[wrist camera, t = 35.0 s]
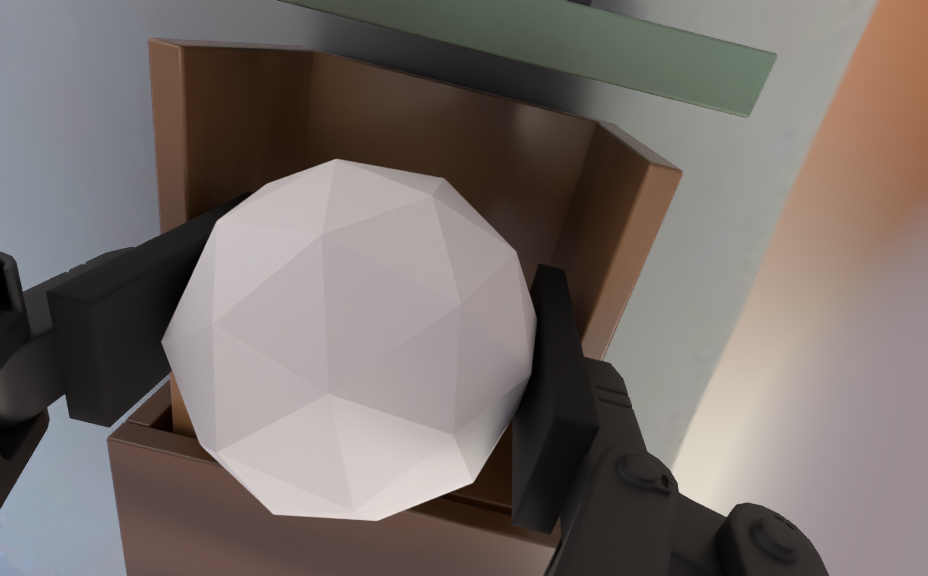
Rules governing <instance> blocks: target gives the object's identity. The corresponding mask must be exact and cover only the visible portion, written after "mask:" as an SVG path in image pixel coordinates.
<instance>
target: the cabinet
mask: <svg viewBox="0 0 928 576" xmlns="http://www.w3.org/2000/svg"><path fill="white" fill-rule="evenodd" d="M107 446H108V452H109V459H110V466H111V472H112V479H113V486H114V493H115V499H116V506H117V513H118V519H119V526H120V533H121V540H122V546H123V553H124V560H125V567H126V573H127V576H543V574H544V572H545V570H546V568H547V566H548V564H549V562H550V560H551V558H552V556H553V553H554V551H555V549H556V547H557V545H558V543H559V541H560V539H561V537H562V534H561V523H560V515H559V517H558V519H557V522H556V524H555V526H554V528H553V530H552V533H551V535H550V534H546V533H542V532H538V531H533V530H529V529H525V528H521V527H517V526H513V525H512V515H508V514H504V513H500V512H496V511H492V510H488V509H483V508H479V507H475V506H471V505H467V504H463V503H459V502H455V501H451V500H446V499H442V498H438V497H436V498H434V499H431V500H429V501H426V502H423V503H421V504H418V505H416V506H413V507H411V508H408V509H406V510H403V511H401V512H398V513H396V514H393V515H391V516H388V517H386V518H383V519H381V520H378V521H370V520H354V519H338V518H321V517H305V516H289V515H273V514H272V513H271V512H270V511H269V510H268V509H267V508H266V507H265V506H264V505H263V504H262V503H261V502H260V501H259V500H258V499H257V498H256V497H255V496H254V495H252V494H251V493H250V492H249V491H248V490H247V489H246V488H245V487H244V486H243V485H242V484H241V483H240V482H239V481H238V480H237V479H236V478H235V477H234V476H233V475H231V474H230V473H229V472H228V471H227V470H226V469H225V468H224V467H223V466H222V465H221V464H220V463H219V462H218V461H217V460H216V459H215V458H214V457H213V456H212V455H210V454H209V453H208V452H207V451H206V450H205V449H204V448H203V447H202V446H201V445H200V443H199V440H198V439H195V438H191V437H187V436H183V435H179V434H175V433H173V417H172V402H171V386H170V379H169V380H168V381H167V382H166V383H165V384H164V385H163V386H162V387H161V388H160V389H159V390H157V391H156V392H155V393H154V394H153V395H152V396H151V397H150V398H149V399H148V400H147V401H146V402H144V403H143V404H142V405H141V406H140V407H139V408H138V409H137V410H136V411H135V412H134V413H133V414H131V415H130V416H129V417H128V418H127V419H126V422H124V423H122V424H121V425H120V426H119V427H118V428H117V429H116V430H115V431H114V432H113V433H112V434H111V435H110V436H108V438H107Z"/></svg>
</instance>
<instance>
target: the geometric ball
mask: <svg viewBox="0 0 928 576" xmlns="http://www.w3.org/2000/svg"><path fill="white" fill-rule="evenodd" d="M536 327H537V317H536V314H535V310H534V307H533V304H532V301H531V297H530V294H529V291H528V288H527V285H526V281H525V278H524V275H523V272H522V269H521V265H520V262H519V259H518V256H517V252H516V251H515V250H514V249H513V248H512V247H511V246H510V245H509V244H508V243H507V242H506V241H505V240H504V239H503V238H502V237H501V236H500V235H499V234H498V233H497V232H496V230H495V229H494V228H493V227H492V226H491V225H490V224H489V223H488V222H487V221H486V220H485V219H484V218H483V217H482V216H481V215H480V214H479V213H478V212H477V211H476V210H475V209H474V208H473V207H472V206H471V205H470V204H469V203H468V202H467V201H466V200H465V199H464V198H463V197H462V196H461V195H460V194H459V193H458V192H457V191H456V190H455V189H454V188H453V187H452V186H451V185H450V184H449V183H448V182H447V181H446V180H445V179H444V178H440V177H434V176H429V175H423V174H418V173H412V172H407V171H401V170H396V169H390V168H385V167H379V166H374V165H368V164H363V163H357V162H351V161H346V160H340V159H335V160H332V161H329V162H326V163H323V164H321V165H318V166H315V167H312V168H309V169H307V170H304V171H301V172H298V173H295V174H293V175H290V176H287V177H284V178H281V179H279V180H276V181H273V182H270V183H267V184H266V185H264V186H263V187H262V188H260V189H259V190H258V191H256V192H255V193H254V194H252V195H251V196H250V197H248V198H247V199H246V200H244V201H243V202H242V203H240V204H239V205H238V206H236V207H235V208H234V209H232V210H231V211H229V212H228V213H227V214H225V215H224V216H223V217H221V218H220V219H219V220H217V222H216V224H215V226H214V228H213V230H212V232H211V235H210V237H209V239H208V241H207V243H206V245H205V248H204V250H203V252H202V254H201V256H200V259H199V261H198V263H197V265H196V267H195V269H194V272H193V274H192V276H191V278H190V280H189V282H188V285H187V287H186V289H185V291H184V293H183V295H182V298H181V300H180V302H179V304H178V306H177V308H176V311H175V313H174V315H173V317H172V319H171V321H170V324H169V326H168V328H167V330H166V332H165V335H164V337H163V339H162V341H161V343H162V345H163V348H164V351H165V353H166V356H167V358H168V361H169V364H170V366H171V369H172V372H173V374H174V377H175V380H176V382H177V385H178V387H179V390H180V393H181V395H182V398H183V401H184V403H185V406H186V409H187V411H188V414H189V416H190V419H191V422H192V424H193V427H194V430H195V432H196V435H197V438H198V440H199V443H200V445H201V446H202V447H203V448H204V449H205V450H206V451H207V452H208V453H209V454H210V455H212V456H213V457H214V458H215V459H216V460H217V461H218V462H219V463H220V464H221V465H222V466H223V467H224V468H225V469H226V470H227V471H228V472H229V473H230V474H231V475H233V476H234V477H235V478H236V479H237V480H238V481H239V482H240V483H241V484H242V485H243V486H244V487H245V488H246V489H247V490H248V491H249V492H250V493H251V494H252V495H254V496H255V497H256V498H257V499H258V500H259V501H260V502H261V503H262V504H263V505H264V506H265V507H266V508H267V509H268V510H269V511H270V512H271V513H272V514H273V515H289V516H305V517H321V518H338V519H354V520H370V521H378V520H381V519H383V518H386V517H388V516H391V515H393V514H396V513H398V512H401V511H403V510H406V509H408V508H411V507H413V506H416V505H418V504H421V503H423V502H426V501H429V500H431V499H434V498H436V497H439V496H441V495H444V494H446V493H449V492H451V491H454V490H456V489H459V488H461V487H464V486H466V485H469V484H471V483H473V482H474V481H475V479H476V477H477V476H478V474H479V472H480V471H481V469H482V467H483V466H484V464H485V462H486V461H487V459H488V457H489V456H490V454H491V452H492V451H493V449H494V447H495V446H496V444H497V442H498V441H499V439H500V437H501V436H502V434H503V432H504V431H505V429H506V427H507V426H508V424H509V422H510V421H511V419H512V418H513V416H514V414H515V413H516V411H517V409H518V407H519V404H520V402H521V399H522V397H523V394H524V391H525V389H526V386H527V384H528V381H529V378H530V376H531V371H532V362H533V353H534V345H535V336H536Z"/></svg>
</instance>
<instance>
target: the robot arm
mask: <svg viewBox="0 0 928 576" xmlns="http://www.w3.org/2000/svg"><path fill="white" fill-rule="evenodd" d="M252 194H254V193H252V192H246V193H244V194H242V195H240V196H238V197H236V198H234V199H232V200H230V201H228V202H226V203H224V204H222V205H220V206H218V207H216V208H214V209H212V210H210V211H208V212H206V213H204V214H202V215H200V216H198V217H196V218H194V219H192V220H190V221H188V222H186V223H184V224H182V225H180V226H178V227H176V228H174V229H172V230H170V231H168V232H166V233H164V234H161V235H159V236H157V237H155V238H153V239H151V240H149V241H147V242H145V243H143V244H141V245H139V246H137V247H135V248H134V247H129V248H124V249H120V250H116V251H111V252H107V253H104V254H102V255H100V256H98V257H96V258H94V259H91V260H89V261H87V262H86V264H85V265H83V264H81V265H79V266H77V267H75V268H72V269H70V270H69V272H68V273H67V272H64V273H62V274H60V275H58V276H55V277H53V278H51V279H49V280H47V281H45V282H43V283H41V284H39V285H36V286H34V287H32V288H30V289H28V290H26V291H24V292H23V291H22V286H21V282H20V277H19V272H18V268H17V263H16V261H15V260H14V258H13V257H12V256H10V255H8V254H5V253H3V252H0V509H1V507H2V505H3V503H4V502H5V500H6V498H7V497H8V495H9V493H10V491H11V490H12V488H13V486H14V485H15V483H16V481H17V480H18V478H19V476H20V474H21V473H22V471H23V469H24V468H25V466H26V464H27V463H28V461H29V459H30V457H31V456H32V454H33V452H34V451H35V449H36V447H37V446H38V444H39V442H40V440H41V439H42V437H43V435H44V434H45V432H46V430H47V428H48V424H49V420H50V418H49V414H48V409H47V407H48V406H49V405H51V404H52V403H53V402H55V401H56V400H57V399H59V398H60V397H61V396H63V395H64V394H65V395H66V401H67V406H68V411H69V417H70V418H72V419H76V420H80V421H84V422H88V423H92V424H96V425H100V426H105V427H111V426H112V425H113V424H114V423H115V422H116V421H117V420H118V419H119V418H120V417H122V416H123V415H124V414H125V413H126V412H127V411H128V410H129V409H130V408H132V407H133V406H134V405H135V404H136V403H137V402H138V401H139V400H140V399H141V398H143V397H144V396H145V395H146V394H147V393H148V392H149V391H150V390H151V389H152V388H154V387H155V386H156V385H157V384H158V383H159V382H160V381H161V380H162V379H164V378H165V377H166V376H167V375H168V374H169V373H170V372H171V371H172V369H171V366H170V364H169V361H168V358H167V356H166V353H165V351H164V348H163V345H162V343H161V341H162V339H163V337H164V335H165V332H166V330H167V328H168V326H169V324H170V321H171V319H172V317H173V315H174V313H175V311H176V308H177V306H178V304H179V302H180V300H181V298H182V295H183V293H184V291H185V289H186V287H187V285H188V282H189V280H190V278H191V276H192V274H193V272H194V269H195V267H196V265H197V263H198V261H199V259H200V256H201V254H202V252H203V250H204V248H205V245H206V243H207V241H208V239H209V237H210V235H211V232H212V230H213V228H214V226H215V224H216V222H217V220H219V219H220V218H221V217H223V216H224V215H225V214H227V213H228V212H229V211H231V210H232V209H234V208H235V207H236V206H238V205H239V204H240V203H242V202H243V201H244V200H246V199H247V198H248V197H250V196H251V195H252ZM529 294H530V297H531V301H532V304H533V307H534V310H535V314H536V317H537V327H536V336H535V345H534V353H533V362H532V371H531V376H530V378H529V381H528V384H527V386H526V389H525V391H524V394H523V397H522V399H521V402H520V404H519V407H518V409H517V411H516V413H515V414H514V416H513V443H512V525H513V526H517V527H521V528H525V529H529V530H533V531H538V532H542V533H546V534H550V535H551V533H552V530H553V528H554V526H555V524H556V522H557V519H558V517H559V515H560V523H561V534H562V537H561V539H560V541H559V543H558V545H557V547H556V549H555V551H554V553H553V556H552V558H551V560H550V562H549V564H548V566H547V568H546V570H545V572H544V574H543V576H829V574H828V572H827V570H826V568H825V566H824V563H823V561H822V559H821V557H820V555H819V554H818V552H817V550H816V549H815V548H814V546H813V544H812V543H811V541H810V540H809V539H808V538H807V537H806V536H805V535H804V534H803V533H802V532H801V531H800V530H799V529H798V528H797V527H796V526H795V525H794V524H792V523H791V522H790V521H789V520H787V519H785V518H784V517H783V516H781V515H780V514H778V513H776V512H774V511H772V510H770V509H768V508H766V507H764V506H761V505H756V504H751V503H743V504H737V505H736V506H735V507H734V508H733V509H732V511H731V512H730V513H729V515H728V516H727V517H725V516H723V515H721V514H719V513H717V512H715V511H713V510H711V509H709V508H707V507H705V506H703V505H701V504H699V503H696V502H695V501H693V500H691V499H689V498H687V497H686V496H684V495H682V494H681V493H679V491H678V484H677V481H676V480H675V478H674V476H673V475H672V473H671V471H670V470H669V469H668V468H667V467H666V466H665V465H664V464H663V463H662V462H661V461H660V460H659V459H658V458H656V457H654V456H653V455H651V454H650V453H648V452H647V449H646V446H645V443H644V440H643V437H642V434H641V431H640V428H639V425H638V422H637V419H636V416H635V413H634V410H633V409H632V404H631V401H630V398H629V396H627V395H628V392H627V389H626V386H625V383H624V380H623V378H622V377H621V376H620V374H619V373H618V372H617V371H616V370H615V368H614V367H613V366H612V365H611V364H610V363H608V362H604V361H600V360H596V359H592V358H588V357H584V354H583V350H582V345H581V341H580V337H579V332H578V328H577V323H576V319H575V314H574V310H573V306H572V301H571V297H570V292H569V288H568V284H567V279H566V275H565V270H564V269H560V268H556V267H552V266H548V265H544V264H540V263H539V264H538V267H537V270H536V273H535V276H534V280H533V283H532V286H531V289H530V292H529Z"/></svg>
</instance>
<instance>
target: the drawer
mask: <svg viewBox="0 0 928 576" xmlns="http://www.w3.org/2000/svg"><path fill="white" fill-rule="evenodd" d="M278 1H282V2H286V3H290V4H294V5H298V6H302V7H306V8H310V9H314V10H318V11H322V12H326V13H330V14H334V15H338V16H342V17H346V18H350V19H354V20H358V21H362V22H366V23H370V24H374V25H378V26H382V27H386V28H390V29H394V30H398V31H402V32H406V33H410V34H414V35H418V36H422V37H426V38H430V39H434V40H438V41H442V42H446V43H450V44H454V45H458V46H462V47H466V48H470V49H474V50H478V51H482V52H486V53H489V54H493V55H497V56H501V57H505V58H509V59H513V60H517V61H521V62H525V63H529V64H533V65H537V66H541V67H545V68H549V69H553V70H557V71H561V72H565V73H569V74H573V75H577V76H581V77H585V78H589V79H593V80H597V81H601V82H605V83H609V84H613V85H617V86H621V87H625V88H629V89H633V90H637V91H641V92H645V93H649V94H653V95H657V96H661V97H665V98H669V99H673V100H677V101H681V102H685V103H689V104H693V105H697V106H701V107H705V108H709V109H713V110H717V111H721V112H725V113H729V114H733V115H737V116H741V117H745V118H747V117H749V116H750V114H751V112H752V110H753V108H754V105H755V103H756V101H757V99H758V97H759V95H760V93H761V90H762V88H763V86H764V84H765V82H766V80H767V78H768V75H769V73H770V71H771V69H772V67H773V65H774V63H775V60H776V58H777V54H775V53H772V52H768V51H764V50H760V49H756V48H752V47H748V46H744V45H740V44H736V43H732V42H728V41H724V40H720V39H716V38H712V37H708V36H704V35H700V34H696V33H692V32H688V31H685V30H681V29H677V28H673V27H669V26H665V25H661V24H657V23H653V22H649V21H645V20H641V19H637V18H633V17H629V16H625V15H621V14H617V13H613V12H609V11H605V10H601V9H597V8H593V7H590V6H591V3H592V0H278ZM148 46H149V61H150V77H151V92H152V108H153V123H154V139H155V154H156V170H157V185H158V201H159V216H160V232H161V234H164V233H166V232H168V231H170V230H172V229H174V228H176V227H178V226H180V225H182V224H184V223H186V222H188V221H190V220H192V219H194V218H196V217H198V216H200V215H202V214H204V213H206V212H208V211H210V210H212V209H214V208H216V207H218V206H220V205H222V204H224V203H226V202H228V201H230V200H232V199H234V198H236V197H238V196H240V195H242V194H244V193H246V192H252V193H255V192H256V191H258V190H259V189H260V188H262V187H263V186H264V185H266V184H267V183H270V182H273V181H276V180H279V179H281V178H284V177H287V176H290V175H293V174H295V173H298V172H301V171H304V170H307V169H309V168H312V167H315V166H318V165H321V164H323V163H326V162H329V161H332V160H335V159H340V160H346V161H351V162H357V163H363V164H368V165H374V166H379V167H385V168H390V169H396V170H401V171H407V172H412V173H418V174H423V175H429V176H434V177H440V178H444V179H445V180H446V181H447V182H448V183H449V184H450V185H451V186H452V187H453V188H454V189H455V190H456V191H457V192H458V193H459V194H460V195H461V196H462V197H463V198H464V199H465V200H466V201H467V202H468V203H469V204H470V205H471V206H472V207H473V208H474V209H475V210H476V211H477V212H478V213H479V214H480V215H481V216H482V217H483V218H484V219H485V220H486V221H487V222H488V223H489V224H490V225H491V226H492V227H493V228H494V229H495V230H496V232H497V233H498V234H499V235H500V236H501V237H502V238H503V239H504V240H505V241H506V242H507V243H508V244H509V245H510V246H511V247H512V248H513V249H514V250H515V251H516V252H517V256H518V259H519V262H520V265H521V269H522V272H523V275H524V278H525V281H526V285H527V288H528V291H529V292H530V289H531V286H532V283H533V280H534V276H535V273H536V270H537V267H538V264H539V263H540V264H544V265H548V266H552V267H556V268H560V269H564V270H565V275H566V279H567V284H568V288H569V292H570V297H571V301H572V306H573V310H574V314H575V319H576V323H577V328H578V332H579V337H580V341H581V345H582V350H583V354H584V357H588V358H592V359H596V360H600V361H603V359H604V356H605V354H606V352H607V349H608V347H609V345H610V342H611V340H612V338H613V335H614V333H615V331H616V328H617V326H618V324H619V321H620V319H621V317H622V314H623V312H624V310H625V307H626V305H627V303H628V300H629V298H630V296H631V293H632V291H633V289H634V286H635V284H636V282H637V279H638V277H639V275H640V272H641V270H642V268H643V265H644V263H645V261H646V258H647V256H648V254H649V251H650V249H651V247H652V244H653V242H654V240H655V238H656V235H657V233H658V231H659V228H660V226H661V224H662V221H663V219H664V217H665V214H666V212H667V210H668V207H669V205H670V203H671V200H672V198H673V196H674V193H675V191H676V189H677V186H678V184H679V182H680V179H681V177H682V174H683V171H681V170H680V169H679V168H677V167H676V166H674V165H673V164H671V163H670V162H669V161H667V160H666V159H664V158H663V157H661V156H660V155H658V154H657V153H655V152H654V151H652V150H651V149H649V148H648V147H646V146H645V145H644V144H642V143H641V142H639V141H638V140H636V139H635V138H633V137H632V136H630V135H629V134H627V133H626V132H624V131H623V130H621V129H620V128H619V127H618V126H616V125H615V124H612V123H608V122H604V121H600V120H596V119H592V118H588V117H584V116H580V115H576V114H572V113H568V112H564V111H560V110H556V109H552V108H548V107H544V106H540V105H536V104H532V103H528V102H524V101H520V100H516V99H512V98H508V97H504V96H500V95H496V94H492V93H488V92H484V91H480V90H476V89H472V88H468V87H464V86H460V85H456V84H452V83H448V82H444V81H440V80H436V79H432V78H428V77H424V76H420V75H416V74H412V73H408V72H404V71H400V70H396V69H392V68H388V67H384V66H380V65H376V64H372V63H368V62H364V61H360V60H356V59H352V58H348V57H344V56H340V55H336V54H332V53H328V52H324V51H320V50H316V49H312V48H308V47H304V46H290V45H273V44H255V43H237V42H219V41H201V40H183V39H165V38H150V39H149V41H148ZM170 386H171V402H172V417H173V433H175V434H179V435H183V436H187V437H191V438H195V439H198V438H197V435H196V432H195V430H194V427H193V424H192V422H191V419H190V416H189V414H188V411H187V409H186V406H185V403H184V401H183V398H182V395H181V393H180V390H179V387H178V385H177V382H176V380H175V377H174V374H173V372H172V371H171V372H170ZM512 443H513V418H512V419H511V421H510V422H509V424H508V426H507V427H506V429H505V431H504V432H503V434H502V436H501V437H500V439H499V441H498V442H497V444H496V446H495V447H494V449H493V451H492V452H491V454H490V456H489V457H488V459H487V461H486V462H485V464H484V466H483V467H482V469H481V471H480V472H479V474H478V476H477V477H476V479H475V481H474V482H473V483H471V484H469V485H466V486H464V487H461V488H459V489H456V490H454V491H451V492H449V493H446V494H444V495H441V496H439V497H438V498H442V499H446V500H451V501H455V502H459V503H463V504H467V505H471V506H475V507H479V508H483V509H488V510H492V511H496V512H500V513H504V514H508V515H512Z"/></svg>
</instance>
